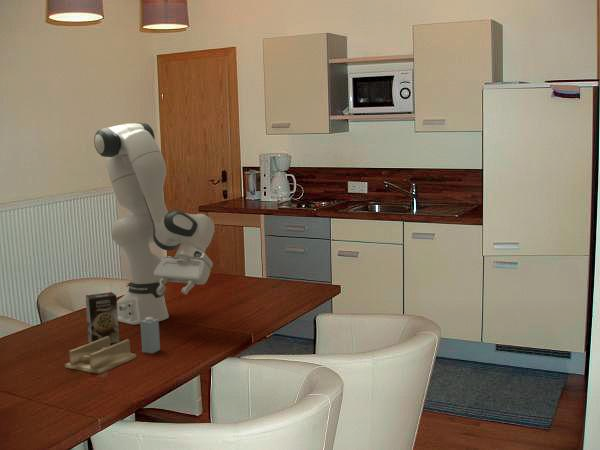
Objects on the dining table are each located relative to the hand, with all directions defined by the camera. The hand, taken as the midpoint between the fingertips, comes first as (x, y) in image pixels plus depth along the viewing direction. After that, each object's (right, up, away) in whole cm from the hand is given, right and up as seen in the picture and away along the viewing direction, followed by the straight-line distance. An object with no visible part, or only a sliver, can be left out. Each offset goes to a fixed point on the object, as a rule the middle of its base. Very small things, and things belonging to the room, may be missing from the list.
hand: (172, 292), depth 247 cm
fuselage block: (-5, -18, -8) cm, 20 cm away
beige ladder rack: (-19, -20, -17) cm, 32 cm away
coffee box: (-23, -17, +3) cm, 29 cm away
